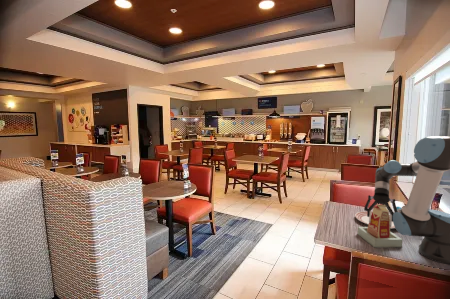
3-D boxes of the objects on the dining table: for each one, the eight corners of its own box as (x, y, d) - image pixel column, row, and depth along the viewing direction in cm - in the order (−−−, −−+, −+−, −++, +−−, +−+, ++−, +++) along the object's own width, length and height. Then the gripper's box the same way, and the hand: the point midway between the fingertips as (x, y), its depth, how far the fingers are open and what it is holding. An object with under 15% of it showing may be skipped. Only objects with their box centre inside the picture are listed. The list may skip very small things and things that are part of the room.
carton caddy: (401, 247, 126) (402, 239, 126) (374, 247, 126) (374, 239, 126) (382, 233, 142) (382, 226, 141) (357, 234, 142) (358, 227, 141)
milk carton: (379, 241, 128) (382, 207, 126) (365, 233, 137) (367, 201, 135) (391, 239, 131) (394, 205, 128) (377, 231, 140) (379, 200, 137)
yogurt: (395, 214, 172) (396, 206, 172) (397, 214, 172) (398, 206, 172) (407, 221, 160) (408, 212, 160) (409, 221, 160) (410, 212, 160)
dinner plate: (371, 232, 144) (371, 227, 144) (347, 215, 171) (347, 211, 171) (413, 231, 145) (414, 226, 145) (382, 214, 172) (382, 210, 172)
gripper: (403, 196, 138) (403, 231, 126) (361, 190, 150) (357, 222, 139) (404, 190, 133) (404, 226, 122) (361, 184, 145) (357, 216, 134)
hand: (379, 224), depth 130 cm, fingers closed on milk carton, 9 cm apart
